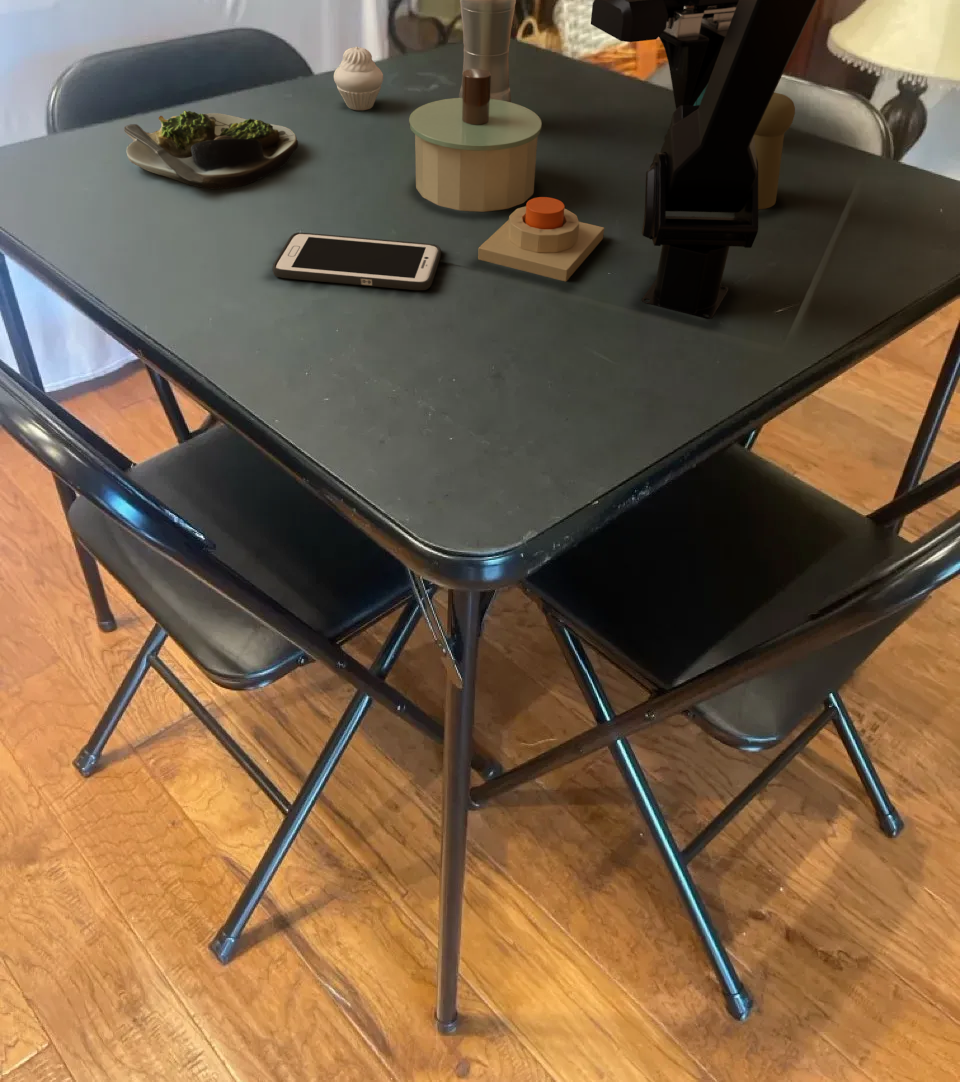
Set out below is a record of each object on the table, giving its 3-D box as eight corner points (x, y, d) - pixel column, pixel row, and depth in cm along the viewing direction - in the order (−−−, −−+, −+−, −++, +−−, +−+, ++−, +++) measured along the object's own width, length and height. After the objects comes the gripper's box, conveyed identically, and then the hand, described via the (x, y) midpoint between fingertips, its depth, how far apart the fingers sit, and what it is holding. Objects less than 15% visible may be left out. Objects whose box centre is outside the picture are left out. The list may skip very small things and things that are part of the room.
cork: (776, 217, 97) (804, 108, 90) (718, 210, 98) (741, 102, 90) (774, 194, 102) (801, 88, 94) (719, 188, 102) (741, 82, 95)
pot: (503, 226, 94) (507, 156, 89) (395, 200, 97) (393, 132, 93) (550, 182, 102) (556, 116, 97) (449, 159, 106) (450, 95, 101)
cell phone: (293, 240, 90) (292, 231, 89) (442, 254, 89) (442, 244, 88) (270, 278, 84) (269, 268, 83) (429, 293, 83) (429, 283, 82)
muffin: (335, 97, 119) (331, 38, 114) (383, 97, 120) (381, 38, 115) (335, 115, 115) (331, 54, 110) (385, 114, 115) (382, 54, 110)
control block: (565, 287, 85) (569, 251, 83) (477, 264, 88) (478, 229, 85) (602, 243, 92) (606, 209, 89) (519, 223, 94) (522, 190, 92)
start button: (554, 234, 86) (556, 216, 84) (519, 226, 87) (520, 208, 86) (568, 219, 88) (570, 201, 87) (534, 211, 89) (535, 193, 88)
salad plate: (78, 166, 101) (66, 122, 98) (185, 116, 113) (177, 76, 109) (220, 205, 95) (212, 160, 92) (317, 148, 107) (314, 106, 104)
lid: (511, 166, 89) (514, 105, 85) (385, 141, 92) (383, 81, 88) (559, 121, 98) (564, 65, 94) (443, 100, 101) (444, 44, 98)
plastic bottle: (520, 126, 114) (531, -63, 100) (491, 143, 110) (499, -53, 96) (476, 115, 116) (482, -72, 102) (446, 131, 112) (448, -62, 98)
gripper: (751, -113, 83) (715, 73, 93) (569, -104, 77) (552, 93, 88) (833, -89, 75) (784, 110, 86) (639, -77, 69) (612, 135, 80)
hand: (682, 110), depth 85 cm, fingers closed
